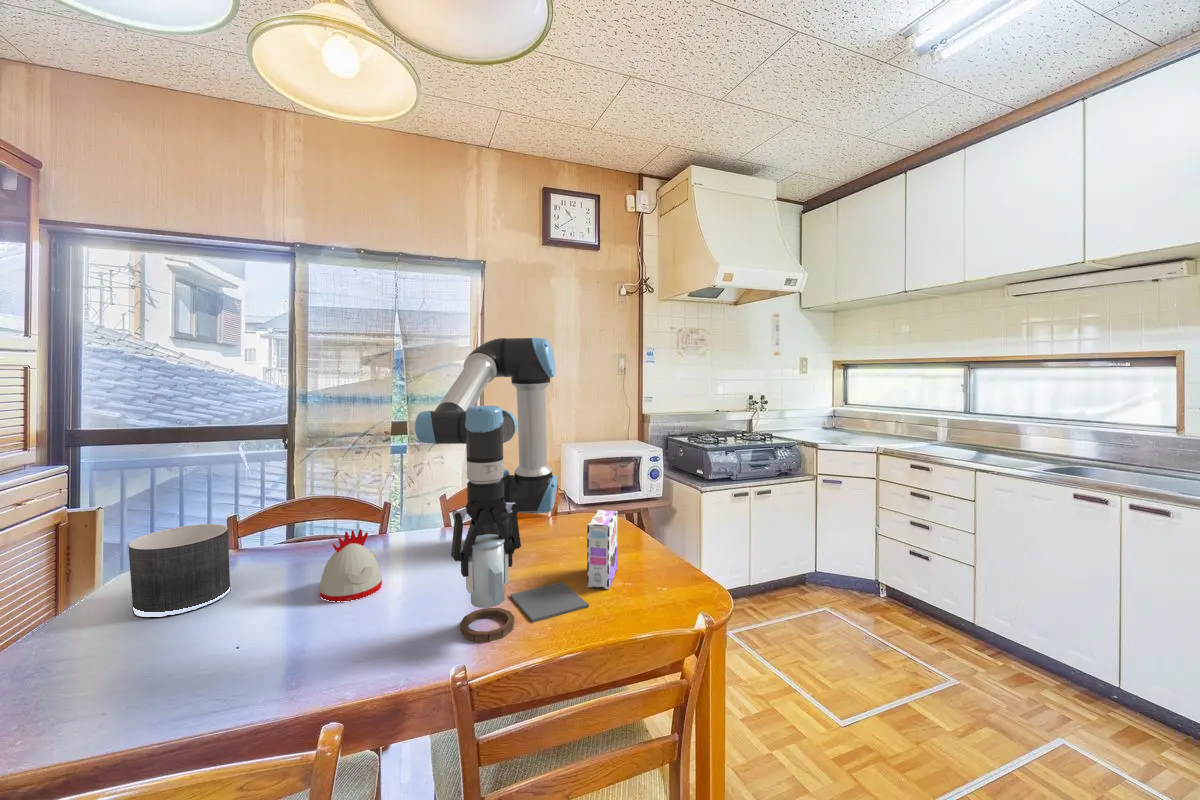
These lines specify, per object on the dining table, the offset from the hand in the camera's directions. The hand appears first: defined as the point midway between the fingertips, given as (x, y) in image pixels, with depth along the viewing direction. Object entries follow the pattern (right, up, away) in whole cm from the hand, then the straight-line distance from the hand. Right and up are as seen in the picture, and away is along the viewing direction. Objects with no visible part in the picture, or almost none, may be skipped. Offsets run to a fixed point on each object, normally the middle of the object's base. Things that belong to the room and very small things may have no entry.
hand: (487, 585), depth 103 cm
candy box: (+25, -8, +25) cm, 36 cm away
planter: (-76, -9, +13) cm, 77 cm away
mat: (+12, -8, +12) cm, 19 cm away
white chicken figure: (-38, -8, +18) cm, 43 cm away
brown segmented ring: (0, -9, 0) cm, 9 cm away
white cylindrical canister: (+1, -3, -1) cm, 4 cm away
